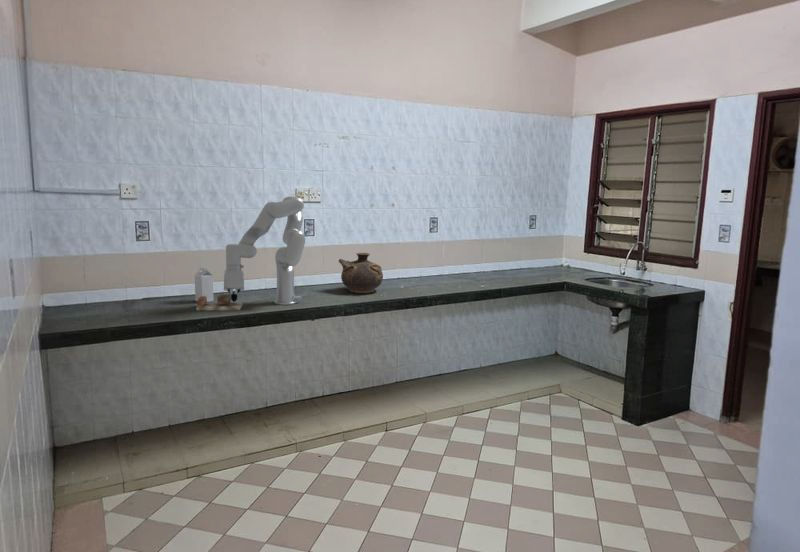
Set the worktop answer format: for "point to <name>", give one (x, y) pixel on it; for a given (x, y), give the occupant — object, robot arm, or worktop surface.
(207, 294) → the milk carton
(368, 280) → the vessel
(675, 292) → the worktop surface
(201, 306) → the rail board
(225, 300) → the keeper
